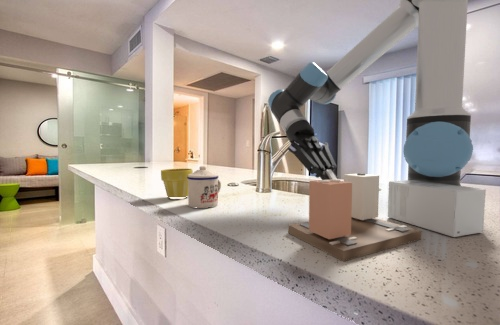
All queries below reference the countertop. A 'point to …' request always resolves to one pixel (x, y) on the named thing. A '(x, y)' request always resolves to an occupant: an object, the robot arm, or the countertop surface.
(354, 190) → the tall white pillar
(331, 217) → the tall salmon pillar
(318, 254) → the countertop surface
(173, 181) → the plant pot
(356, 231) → the walnut track board
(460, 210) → the supplement box
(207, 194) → the teacup with lid
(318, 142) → the robot arm
